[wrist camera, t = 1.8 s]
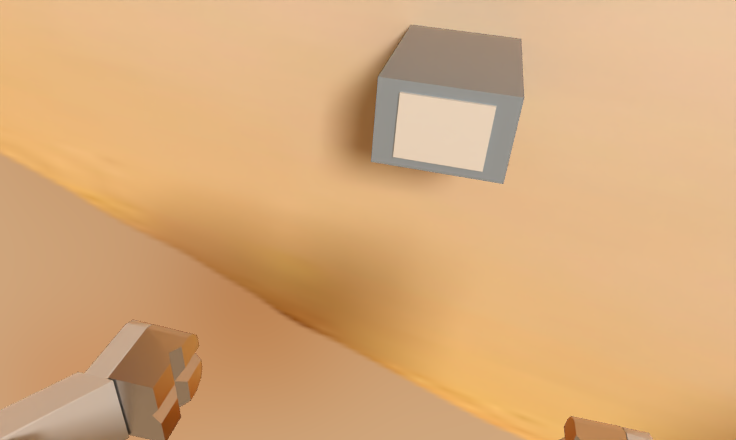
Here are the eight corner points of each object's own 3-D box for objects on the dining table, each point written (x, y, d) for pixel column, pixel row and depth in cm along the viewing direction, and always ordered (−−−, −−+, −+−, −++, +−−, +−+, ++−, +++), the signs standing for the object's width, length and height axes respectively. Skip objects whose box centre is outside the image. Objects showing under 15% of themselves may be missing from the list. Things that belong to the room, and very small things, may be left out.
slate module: (521, 38, 29) (524, 99, 22) (505, 108, 31) (503, 185, 24) (411, 24, 30) (377, 77, 22) (403, 93, 32) (370, 163, 25)
